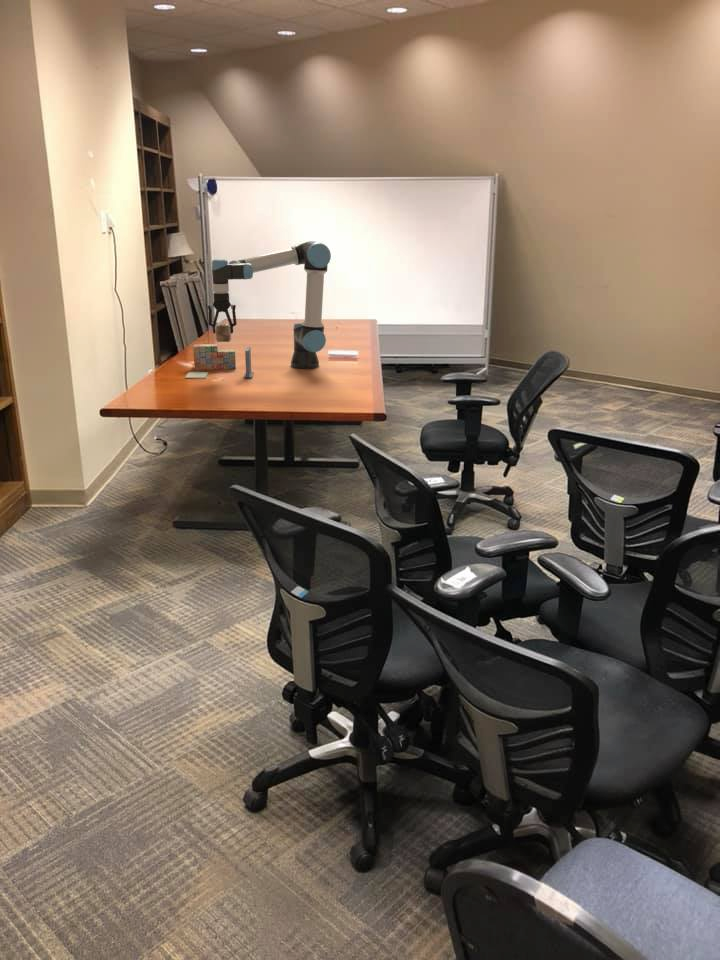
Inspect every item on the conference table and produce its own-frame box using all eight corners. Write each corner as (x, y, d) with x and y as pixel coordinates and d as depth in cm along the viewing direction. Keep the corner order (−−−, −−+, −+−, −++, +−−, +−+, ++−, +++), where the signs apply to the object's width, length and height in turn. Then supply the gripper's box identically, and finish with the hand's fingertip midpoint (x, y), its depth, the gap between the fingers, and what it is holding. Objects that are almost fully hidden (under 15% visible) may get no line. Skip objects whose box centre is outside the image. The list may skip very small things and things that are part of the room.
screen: (253, 373, 392) (252, 346, 387) (251, 378, 380) (250, 350, 375) (245, 373, 391) (244, 346, 386) (243, 378, 380) (242, 350, 375)
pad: (208, 373, 390) (208, 372, 390) (205, 378, 379) (205, 377, 379) (188, 373, 390) (188, 372, 389) (184, 378, 378) (184, 377, 378)
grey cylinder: (230, 339, 382) (229, 323, 379) (229, 341, 376) (228, 325, 373) (218, 339, 382) (217, 323, 379) (216, 341, 376) (215, 325, 373)
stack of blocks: (235, 366, 407) (234, 343, 403) (235, 369, 402) (234, 345, 397) (195, 367, 404) (193, 344, 400) (194, 369, 398) (193, 346, 394)
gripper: (241, 291, 375) (243, 338, 383) (202, 291, 374) (205, 338, 382) (240, 293, 368) (242, 341, 376) (200, 293, 367) (203, 341, 375)
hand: (223, 339), depth 379 cm, fingers closed on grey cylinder, 6 cm apart
